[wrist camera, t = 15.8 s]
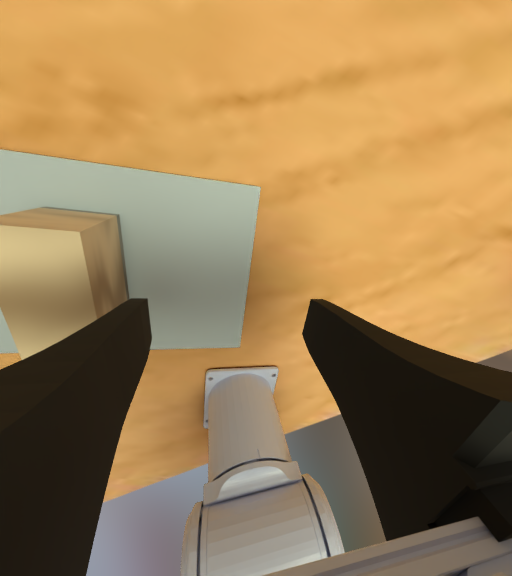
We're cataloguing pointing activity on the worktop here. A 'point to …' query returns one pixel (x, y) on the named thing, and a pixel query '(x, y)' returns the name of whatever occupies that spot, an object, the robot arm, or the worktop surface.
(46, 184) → the board
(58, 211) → the block
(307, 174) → the worktop surface
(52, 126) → the worktop surface
